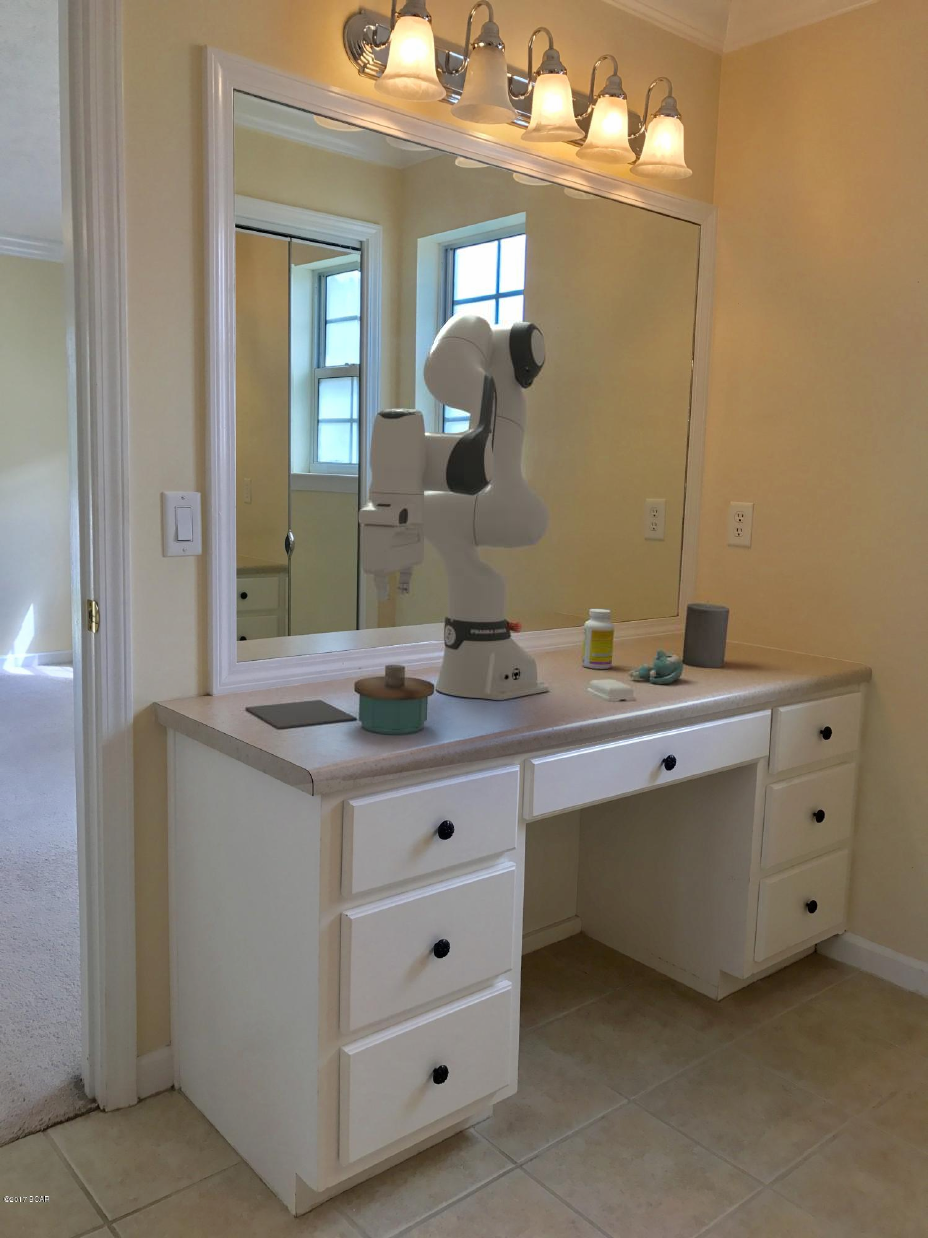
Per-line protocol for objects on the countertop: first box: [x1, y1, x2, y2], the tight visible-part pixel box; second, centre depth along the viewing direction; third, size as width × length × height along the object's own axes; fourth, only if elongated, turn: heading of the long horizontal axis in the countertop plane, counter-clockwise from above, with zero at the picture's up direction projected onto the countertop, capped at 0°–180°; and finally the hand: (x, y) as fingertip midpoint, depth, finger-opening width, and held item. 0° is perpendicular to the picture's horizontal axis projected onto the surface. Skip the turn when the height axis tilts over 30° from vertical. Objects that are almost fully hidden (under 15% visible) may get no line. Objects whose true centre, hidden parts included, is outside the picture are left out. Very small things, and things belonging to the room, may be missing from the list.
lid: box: [353, 664, 435, 700], centre depth 159 cm, size 13×13×4 cm
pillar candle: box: [681, 600, 730, 669], centre depth 227 cm, size 10×10×15 cm
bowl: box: [358, 694, 429, 736], centre depth 160 cm, size 10×10×6 cm
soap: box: [586, 679, 636, 702], centre depth 190 cm, size 9×7×3 cm
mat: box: [245, 699, 358, 730], centre depth 165 cm, size 14×14×1 cm
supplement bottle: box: [581, 608, 615, 670], centre depth 218 cm, size 7×7×13 cm
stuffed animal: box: [628, 649, 684, 685], centre depth 207 cm, size 11×7×12 cm
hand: (393, 597), depth 158 cm, fingers open, 8 cm apart
